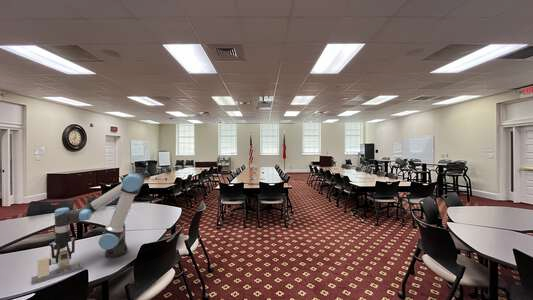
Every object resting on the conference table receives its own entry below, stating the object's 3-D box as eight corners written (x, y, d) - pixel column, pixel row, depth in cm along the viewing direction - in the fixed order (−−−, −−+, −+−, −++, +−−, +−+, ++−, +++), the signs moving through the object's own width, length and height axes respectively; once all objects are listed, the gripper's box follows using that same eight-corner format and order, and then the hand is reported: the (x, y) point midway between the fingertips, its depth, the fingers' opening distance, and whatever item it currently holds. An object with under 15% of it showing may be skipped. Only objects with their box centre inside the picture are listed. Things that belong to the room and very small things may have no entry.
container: (69, 258, 169) (69, 240, 169) (60, 263, 162) (60, 245, 161) (59, 258, 169) (58, 240, 169) (49, 263, 161) (49, 245, 161)
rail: (81, 265, 159) (81, 248, 158) (83, 269, 154) (83, 251, 154) (31, 280, 141) (31, 261, 141) (32, 284, 137) (31, 264, 137)
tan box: (59, 265, 156) (58, 251, 156) (67, 263, 159) (66, 249, 159) (60, 269, 152) (60, 254, 152) (68, 266, 155) (68, 252, 155)
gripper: (77, 226, 164) (78, 259, 165) (44, 233, 152) (45, 268, 152) (79, 229, 159) (80, 262, 160) (45, 236, 147) (47, 272, 147)
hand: (63, 265), depth 156 cm, fingers closed on tan box, 4 cm apart
